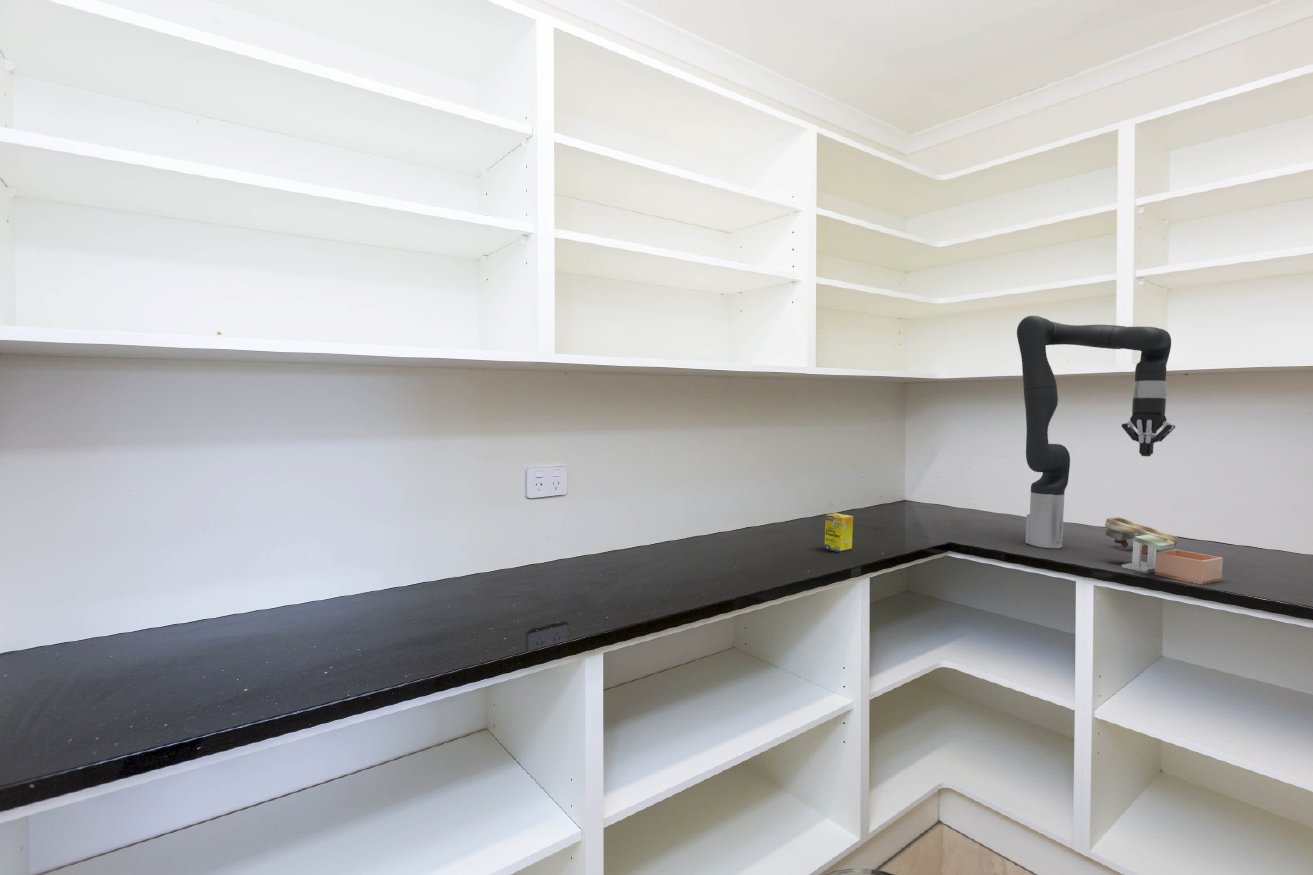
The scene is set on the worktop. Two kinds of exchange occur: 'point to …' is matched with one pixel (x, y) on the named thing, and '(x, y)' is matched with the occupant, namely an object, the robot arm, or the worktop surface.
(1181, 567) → the pink storage bin
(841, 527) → the supplement box
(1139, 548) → the chute stand
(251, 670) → the worktop surface
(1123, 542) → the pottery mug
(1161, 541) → the chute
